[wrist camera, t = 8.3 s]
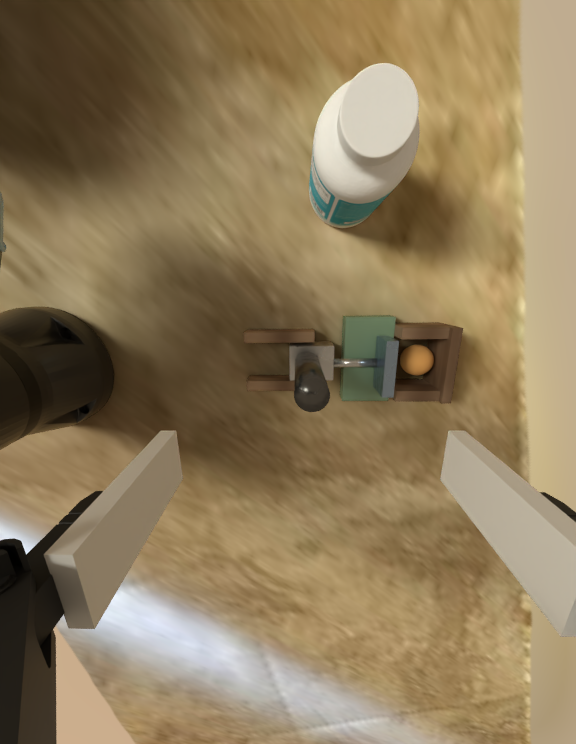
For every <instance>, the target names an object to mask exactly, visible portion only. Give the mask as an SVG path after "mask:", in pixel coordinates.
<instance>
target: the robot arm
mask: <svg viewBox="0 0 576 744" xmlns="http://www.w3.org/2000/svg"><path fill="white" fill-rule="evenodd" d="M5 250H6V245H5V244H4V242H3V197H2V194H1V192H0V266H1V257H2V251H4V252H5ZM113 380H114V375H113V367H112V363H111V360H110V357H109V354H108V352H107V350H106V348H105V346H104V345H103V343H102V341H101V340H100V339H99V337H98V336H97V335H96V334H95V333H94V332H93V331H92V329H90V328H89V327H88V326H87V325H86V324H85V323H83V322H82V321H81V320H79V319H78V318H76V317H74V316H73V315H71V314H69V313H66V312H64V311H61V310H58V309H54V308H49V307H27V308H16V309H12V310H8V311H4V312H2V313H0V450H1V449H2V448H4V447H6V446H8V445H10V444H11V443H13V442H15V441H17V440H19V439H20V438H22V437H24V436H26V435H30V434H35V433H40V432H45V431H49V430H54V429H59V428H64V427H69V426H72V425H75V424H77V423H80V422H82V421H84V420H85V419H87V418H89V417H90V416H92V415H93V414H95V413H96V412H98V411H99V410H100V409H101V408H102V407H103V406H104V405H105V404H106V402H107V401H108V399H109V397H110V394H111V392H112V388H113ZM182 479H183V476H182V468H181V461H180V454H179V447H178V440H177V433H176V431H160V432H159V433H158V434H157V435H156V436H155V437H154V438H153V439H152V440H151V441H150V442H149V444H148V445H147V446H146V447H145V448H144V449H143V450H142V451H141V452H140V453H139V454H138V455H137V456H136V457H135V458H134V459H133V460H132V462H131V463H130V464H129V465H128V466H127V467H126V468H125V469H124V470H123V471H122V472H121V473H120V474H119V475H118V476H117V477H116V478H115V480H114V481H113V482H112V483H111V484H110V485H109V486H108V487H107V488H106V489H105V490H104V491H95V492H94V493H92V494H91V495H89V496H88V497H86V498H85V499H83V500H81V501H80V502H79V503H78V504H77V505H76V506H75V507H74V508H73V509H72V510H71V511H70V512H69V514H68V515H66V516H65V517H64V518H63V519H62V520H61V521H60V522H59V524H58V525H56V526H55V527H54V528H53V529H52V530H51V531H50V532H49V533H48V534H47V535H46V536H45V537H44V538H43V539H42V540H41V541H40V542H39V543H38V544H37V545H36V546H35V547H34V548H33V549H32V550H31V551H30V552H29V553H28V554H27V555H26V553H25V551H24V548H23V545H22V542H21V541H20V540H17V539H4V540H1V541H0V744H56V644H55V643H56V637H55V634H54V631H53V628H54V627H55V626H56V624H57V623H58V621H59V620H60V618H61V617H62V616H63V614H64V616H65V619H66V622H67V625H68V628H77V629H95V627H96V626H97V624H98V622H99V621H100V619H101V617H102V615H103V614H104V612H105V610H106V609H107V607H108V605H109V604H110V602H111V600H112V598H113V597H114V595H115V593H116V592H117V590H118V588H119V587H120V585H121V583H122V581H123V580H124V578H125V576H126V575H127V573H128V571H129V570H130V568H131V566H132V564H133V563H134V561H135V559H136V558H137V556H138V554H139V552H140V551H141V549H142V547H143V546H144V544H145V542H146V541H147V539H148V537H149V535H150V534H151V532H152V530H153V529H154V527H155V525H156V524H157V522H158V520H159V518H160V517H161V515H162V513H163V512H164V510H165V508H166V507H167V505H168V503H169V501H170V500H171V498H172V496H173V495H174V493H175V491H176V489H177V488H178V486H179V484H180V483H181V481H182ZM440 480H441V481H442V483H443V484H444V485H445V487H446V488H447V489H448V490H449V492H450V493H451V494H452V496H453V497H454V498H455V500H456V501H457V502H458V503H459V505H460V506H461V507H462V509H463V510H464V511H465V513H466V514H467V515H468V516H469V518H470V519H471V520H472V522H473V523H474V524H475V526H476V527H477V528H478V530H479V531H480V532H481V533H482V535H483V536H484V537H485V539H486V540H487V541H488V543H489V544H490V545H491V546H492V548H493V549H494V550H495V552H496V553H497V554H498V556H499V557H500V558H501V559H502V561H503V562H504V563H505V565H506V566H507V567H508V569H509V570H510V571H511V572H512V574H513V575H514V576H515V578H516V579H517V580H518V582H519V583H520V584H521V585H522V587H523V588H524V589H525V591H526V592H527V593H528V595H529V596H530V597H531V598H532V600H533V601H534V602H535V603H536V605H537V606H538V608H539V609H540V610H541V612H542V613H543V614H544V615H545V617H546V618H547V619H548V621H549V622H550V623H551V625H552V626H553V627H554V628H555V630H556V631H557V632H558V634H559V635H560V636H562V637H564V636H565V637H576V512H574V511H573V510H572V509H571V508H569V507H568V506H567V505H565V504H564V503H563V502H561V501H559V500H557V499H555V498H554V497H552V496H550V495H548V494H546V493H544V492H543V493H542V492H538V491H537V490H536V489H535V488H534V487H532V486H531V485H530V484H529V483H528V482H526V481H525V480H524V479H523V478H521V477H520V476H519V475H518V474H517V473H515V472H514V471H513V470H512V469H511V468H509V467H508V466H507V465H506V464H505V463H503V462H502V461H501V460H500V459H498V458H497V457H496V456H495V455H494V454H492V453H491V452H490V451H489V450H488V449H486V448H485V447H484V446H483V445H482V444H480V443H479V442H478V441H477V440H476V439H474V438H473V437H472V436H471V435H469V434H468V433H467V432H466V431H448V436H447V442H446V448H445V454H444V460H443V466H442V471H441V477H440Z"/></svg>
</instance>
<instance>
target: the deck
mask: <svg viewBox="0 0 576 744" xmlns="http://www.w3.org/2000/svg"><path fill="white" fill-rule="evenodd" d="M395 319H396V317H394V316H390V315H383V316H343V329H342V354H341V359H349V358H375V353H376V340H377V336H390V337H392V338H394V330H395ZM373 379H374V367H341V379H340V396H341V399H342V401H388V398H382V397H381V396H380V394H379V393H378V392H377V391H376V389H375V388H374V387H373Z"/></svg>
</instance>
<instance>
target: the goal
mask: <svg viewBox="0 0 576 744" xmlns="http://www.w3.org/2000/svg"><path fill="white" fill-rule="evenodd" d="M462 332H463V328H461V327H456V326H452V325H447V324H443V323H395V330H394V336H395V337H398V338H400V339H428V344H427V348H428V349H430V351H431V352H432V354H433V357H434V363H433V366H432V368H431V369H430V370H429V371H428V372H427V373H425V374H424V375H423V379H395V387H394V398H393V399H394V400H395V401H439V402H441V403H451V400H452V394H453V387H454V381H455V375H456V369H457V363H458V357H459V350H460V344H461V338H462Z"/></svg>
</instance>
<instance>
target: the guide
mask: <svg viewBox="0 0 576 744" xmlns="http://www.w3.org/2000/svg"><path fill="white" fill-rule="evenodd" d="M314 341H315V332H314V329H265V330H246V331H245V332H244V343H305V342H314ZM294 385H295V380H290V375H250V376H249V378H248V380H247V391H294Z"/></svg>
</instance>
